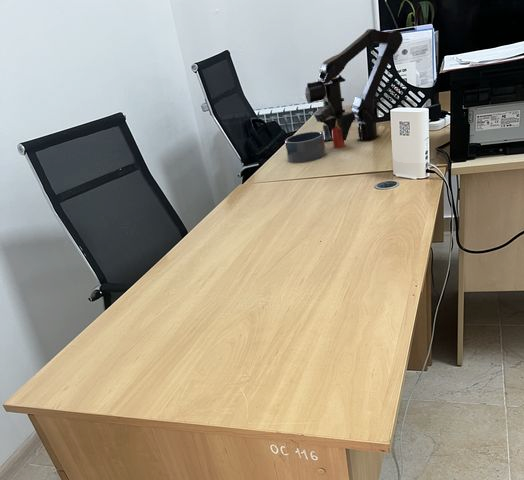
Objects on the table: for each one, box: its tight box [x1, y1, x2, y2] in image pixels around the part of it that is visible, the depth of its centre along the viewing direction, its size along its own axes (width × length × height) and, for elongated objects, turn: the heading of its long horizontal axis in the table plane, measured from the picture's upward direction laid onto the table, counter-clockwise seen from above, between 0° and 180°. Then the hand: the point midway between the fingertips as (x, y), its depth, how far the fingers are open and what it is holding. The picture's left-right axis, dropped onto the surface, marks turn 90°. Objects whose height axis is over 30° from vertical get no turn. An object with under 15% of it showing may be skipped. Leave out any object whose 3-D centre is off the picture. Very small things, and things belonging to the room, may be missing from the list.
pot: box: [284, 131, 326, 164], centre depth 210 cm, size 15×15×8 cm
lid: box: [320, 123, 333, 142], centre depth 231 cm, size 16×16×5 cm
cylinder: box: [332, 127, 346, 149], centre depth 214 cm, size 4×4×7 cm
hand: (338, 138), depth 215 cm, fingers open, 9 cm apart
